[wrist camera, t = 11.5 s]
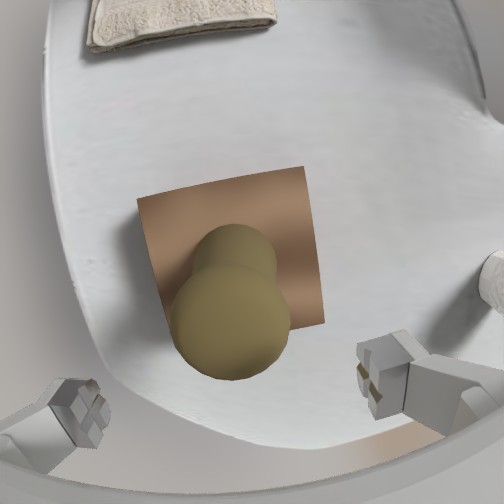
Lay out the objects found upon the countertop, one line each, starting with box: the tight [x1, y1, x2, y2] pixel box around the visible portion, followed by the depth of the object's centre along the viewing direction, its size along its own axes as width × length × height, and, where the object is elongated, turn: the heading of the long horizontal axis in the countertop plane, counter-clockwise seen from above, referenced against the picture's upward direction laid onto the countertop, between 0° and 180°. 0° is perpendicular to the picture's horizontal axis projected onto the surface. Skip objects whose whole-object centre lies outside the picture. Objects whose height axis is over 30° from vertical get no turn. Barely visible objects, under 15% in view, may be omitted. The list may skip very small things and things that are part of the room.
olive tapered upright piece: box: [170, 224, 291, 381], centre depth 17 cm, size 6×6×11 cm
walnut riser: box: [137, 166, 325, 330], centre depth 25 cm, size 12×12×5 cm
